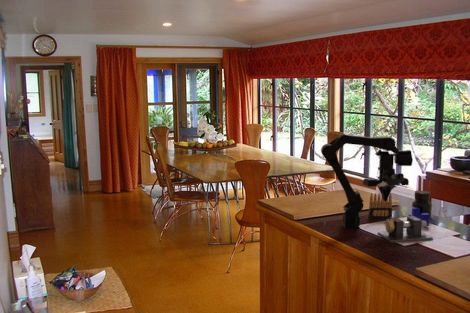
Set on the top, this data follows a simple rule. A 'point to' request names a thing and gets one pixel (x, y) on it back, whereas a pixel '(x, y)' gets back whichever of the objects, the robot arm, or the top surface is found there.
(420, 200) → the ink bottle
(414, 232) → the housing
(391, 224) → the shaft
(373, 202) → the ammunition clip
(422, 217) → the cable clip
